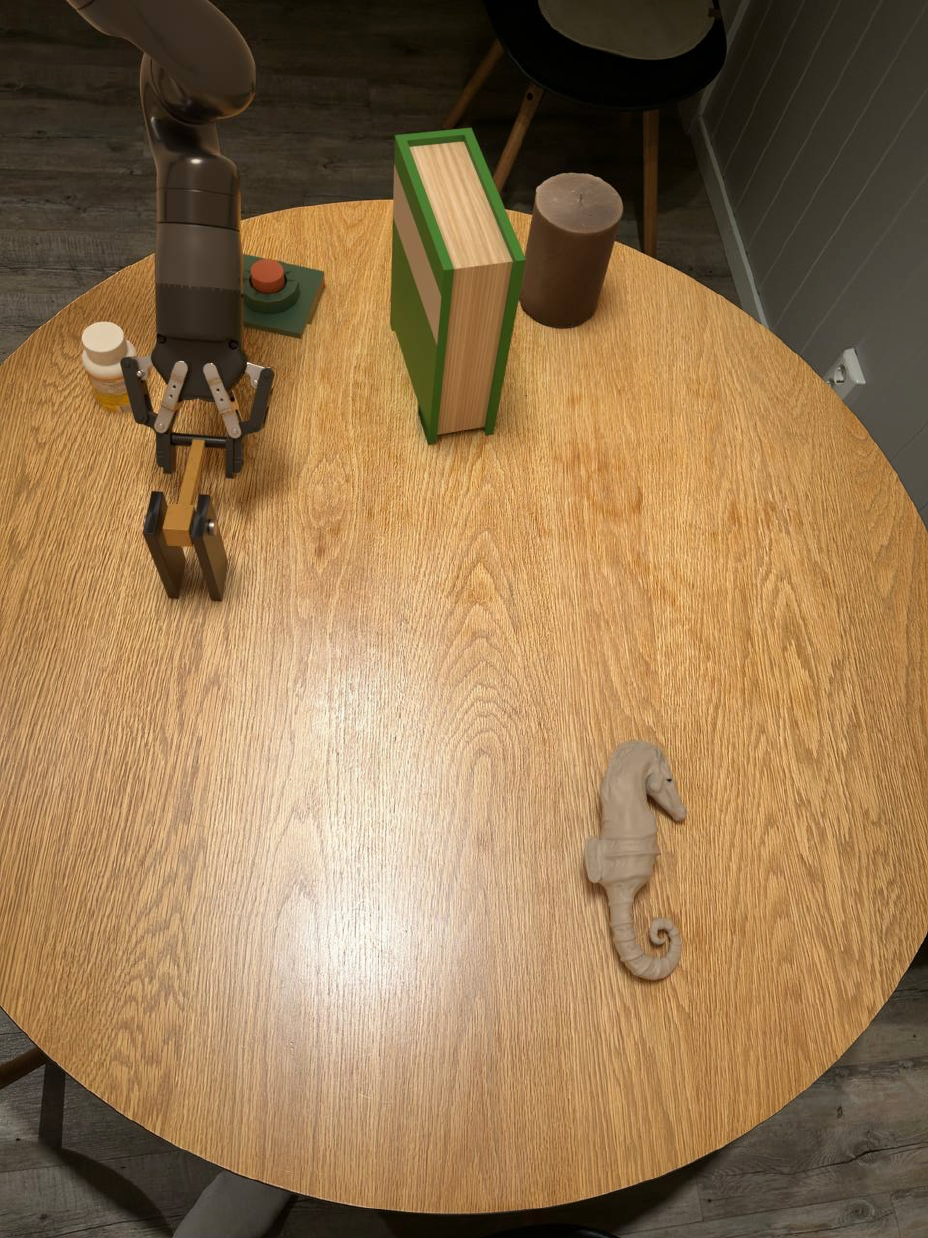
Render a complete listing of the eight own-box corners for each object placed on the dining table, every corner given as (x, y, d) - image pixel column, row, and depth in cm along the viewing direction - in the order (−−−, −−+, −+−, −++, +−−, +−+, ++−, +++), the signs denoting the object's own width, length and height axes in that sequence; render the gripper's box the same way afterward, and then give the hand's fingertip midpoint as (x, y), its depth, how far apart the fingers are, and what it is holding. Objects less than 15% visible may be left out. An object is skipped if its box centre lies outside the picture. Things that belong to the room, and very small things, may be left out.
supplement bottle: (136, 427, 99) (114, 364, 90) (89, 412, 99) (63, 347, 90) (159, 390, 101) (140, 325, 93) (113, 375, 101) (90, 309, 93)
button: (248, 290, 104) (246, 278, 102) (257, 267, 106) (255, 255, 104) (279, 297, 104) (278, 285, 102) (288, 274, 106) (287, 262, 104)
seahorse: (739, 964, 78) (684, 730, 84) (629, 990, 73) (578, 738, 79) (699, 966, 82) (649, 743, 88) (592, 991, 77) (546, 751, 83)
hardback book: (493, 434, 102) (526, 259, 81) (428, 444, 101) (443, 270, 80) (451, 315, 110) (471, 127, 89) (390, 324, 108) (394, 135, 87)
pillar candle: (589, 336, 110) (619, 232, 97) (509, 316, 111) (528, 210, 97) (603, 279, 115) (633, 172, 102) (525, 260, 115) (546, 151, 102)
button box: (215, 328, 106) (210, 302, 102) (242, 267, 110) (238, 240, 107) (301, 347, 106) (299, 321, 102) (325, 285, 110) (323, 258, 107)
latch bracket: (167, 540, 93) (139, 462, 82) (249, 545, 93) (232, 469, 82) (149, 630, 88) (117, 561, 77) (235, 635, 89) (216, 567, 78)
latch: (175, 443, 88) (171, 424, 86) (230, 447, 88) (226, 428, 86) (150, 544, 81) (145, 527, 79) (209, 548, 82) (205, 531, 80)
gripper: (102, 274, 79) (110, 476, 84) (275, 288, 80) (272, 487, 85) (129, 278, 86) (134, 464, 91) (287, 291, 87) (283, 474, 92)
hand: (201, 474), depth 88 cm, fingers closed on latch, 5 cm apart
